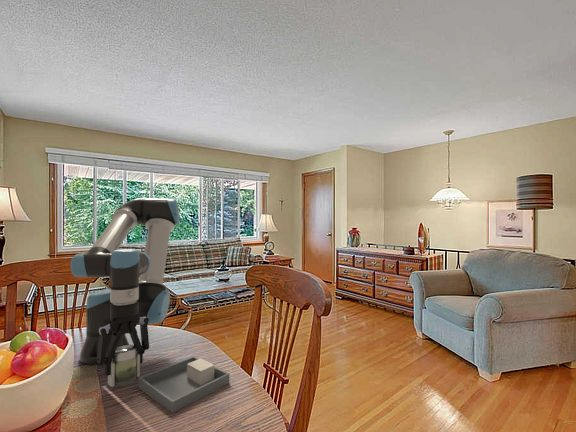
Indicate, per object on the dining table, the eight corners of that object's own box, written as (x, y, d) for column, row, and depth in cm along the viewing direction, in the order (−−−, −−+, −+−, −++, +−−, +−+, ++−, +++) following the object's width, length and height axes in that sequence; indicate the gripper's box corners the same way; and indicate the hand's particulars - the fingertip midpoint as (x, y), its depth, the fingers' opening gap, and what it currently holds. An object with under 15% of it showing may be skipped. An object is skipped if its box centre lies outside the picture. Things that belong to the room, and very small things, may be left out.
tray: (138, 390, 87) (138, 377, 87) (193, 366, 101) (193, 356, 101) (172, 416, 76) (172, 402, 76) (229, 385, 90) (229, 373, 90)
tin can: (107, 384, 90) (108, 350, 90) (130, 375, 95) (130, 343, 95) (117, 392, 86) (117, 356, 86) (140, 382, 91) (140, 348, 91)
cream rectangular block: (186, 377, 93) (187, 363, 93) (200, 371, 97) (200, 358, 97) (200, 385, 88) (200, 371, 88) (214, 378, 92) (214, 365, 92)
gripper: (92, 311, 81) (91, 399, 81) (162, 297, 96) (161, 371, 96) (82, 306, 86) (81, 389, 86) (150, 293, 101) (150, 364, 101)
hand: (124, 379), depth 91 cm, fingers closed on tin can, 6 cm apart
